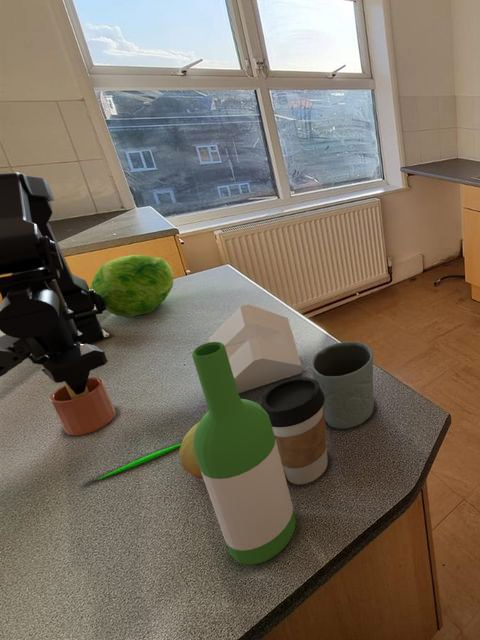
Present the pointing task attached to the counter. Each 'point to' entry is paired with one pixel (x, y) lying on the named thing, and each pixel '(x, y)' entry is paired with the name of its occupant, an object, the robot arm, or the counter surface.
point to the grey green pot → (345, 383)
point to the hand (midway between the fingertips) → (77, 390)
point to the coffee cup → (298, 427)
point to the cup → (84, 408)
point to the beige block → (258, 347)
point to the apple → (189, 454)
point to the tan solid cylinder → (72, 394)
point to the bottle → (240, 464)
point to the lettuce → (133, 284)
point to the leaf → (142, 460)
